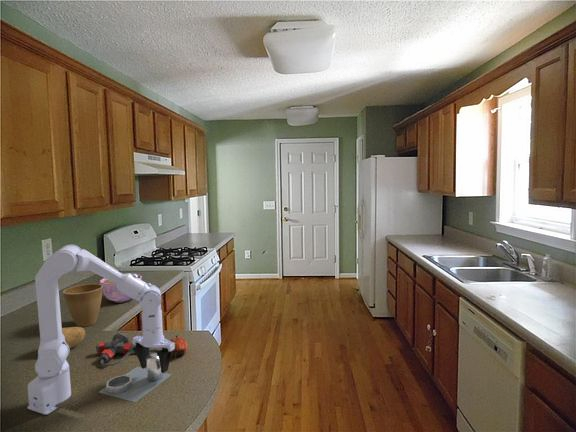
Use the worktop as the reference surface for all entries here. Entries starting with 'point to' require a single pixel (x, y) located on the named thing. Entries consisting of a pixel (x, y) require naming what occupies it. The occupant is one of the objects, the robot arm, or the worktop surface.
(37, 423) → the worktop surface
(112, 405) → the worktop surface
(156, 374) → the duct pipe
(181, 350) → the pomegranate
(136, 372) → the mounting plate
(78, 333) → the potato
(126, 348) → the valve
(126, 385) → the collar
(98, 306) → the plant pot
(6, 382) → the worktop surface
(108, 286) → the bowl of food
